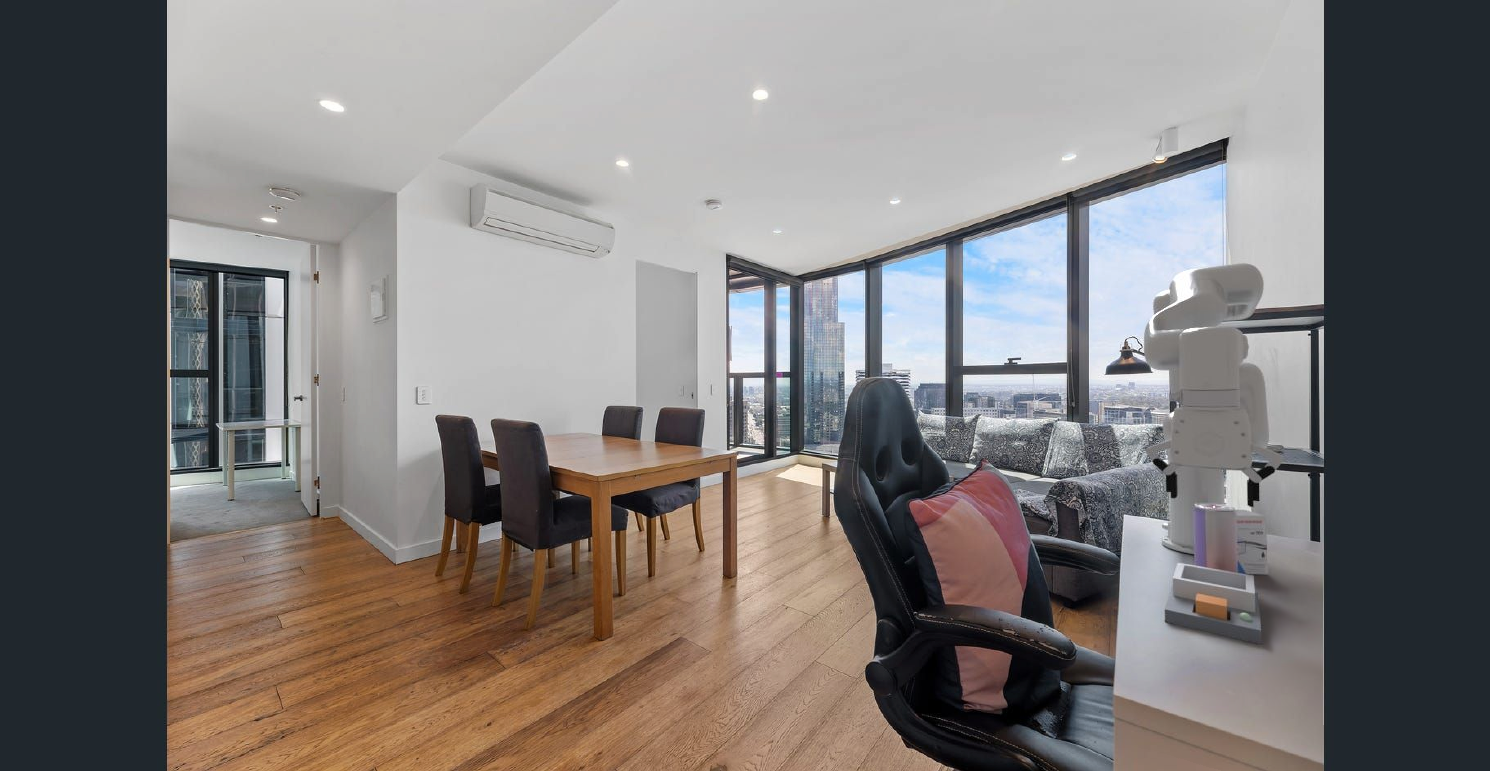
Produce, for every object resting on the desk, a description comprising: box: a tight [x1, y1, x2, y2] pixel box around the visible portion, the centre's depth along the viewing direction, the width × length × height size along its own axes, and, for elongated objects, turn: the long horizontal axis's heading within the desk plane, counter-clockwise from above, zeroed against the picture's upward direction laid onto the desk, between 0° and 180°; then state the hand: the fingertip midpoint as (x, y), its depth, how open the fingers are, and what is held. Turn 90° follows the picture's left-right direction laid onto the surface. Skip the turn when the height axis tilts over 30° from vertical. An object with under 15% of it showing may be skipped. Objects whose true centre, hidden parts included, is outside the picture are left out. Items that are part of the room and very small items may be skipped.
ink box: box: [1235, 509, 1269, 575], centre depth 104 cm, size 9×5×12 cm, turn 84°
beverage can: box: [1193, 503, 1238, 573], centre depth 97 cm, size 6×6×15 cm
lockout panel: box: [1164, 562, 1262, 645], centre depth 86 cm, size 18×11×5 cm, turn 136°
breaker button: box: [1195, 593, 1227, 620], centre depth 82 cm, size 4×4×3 cm
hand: (1210, 500), depth 88 cm, fingers open, 9 cm apart
